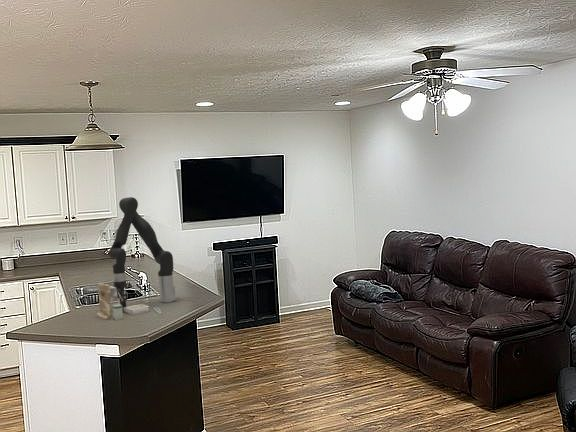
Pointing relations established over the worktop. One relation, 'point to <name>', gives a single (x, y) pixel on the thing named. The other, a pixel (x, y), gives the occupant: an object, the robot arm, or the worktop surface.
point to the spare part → (120, 302)
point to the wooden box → (106, 300)
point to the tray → (136, 309)
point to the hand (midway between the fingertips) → (121, 306)
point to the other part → (117, 312)
